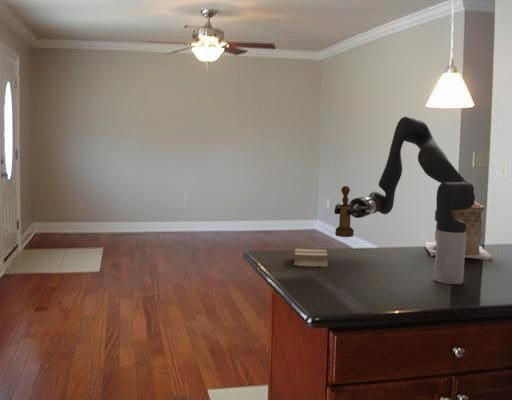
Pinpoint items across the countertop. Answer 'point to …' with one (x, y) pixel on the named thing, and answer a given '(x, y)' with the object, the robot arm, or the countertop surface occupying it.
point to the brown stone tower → (467, 232)
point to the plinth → (311, 257)
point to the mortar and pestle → (344, 216)
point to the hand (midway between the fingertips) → (341, 211)
